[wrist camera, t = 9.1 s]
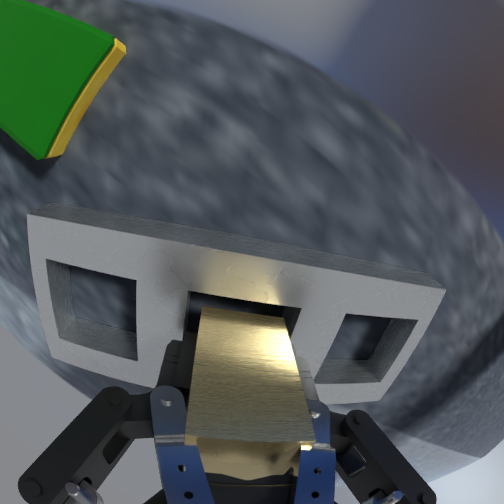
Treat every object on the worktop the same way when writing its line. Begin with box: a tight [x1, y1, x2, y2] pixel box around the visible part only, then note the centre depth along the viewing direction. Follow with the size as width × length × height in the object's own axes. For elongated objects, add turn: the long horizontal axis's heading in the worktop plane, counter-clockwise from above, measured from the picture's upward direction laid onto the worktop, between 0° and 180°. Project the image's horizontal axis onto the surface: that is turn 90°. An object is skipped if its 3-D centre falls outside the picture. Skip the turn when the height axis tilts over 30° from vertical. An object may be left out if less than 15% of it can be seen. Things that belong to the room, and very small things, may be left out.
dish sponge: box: [0, 0, 126, 160], centre depth 8 cm, size 7×14×2 cm, turn 51°
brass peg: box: [185, 306, 316, 480], centre depth 11 cm, size 4×4×7 cm
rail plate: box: [27, 203, 446, 404], centre depth 15 cm, size 24×10×2 cm, turn 77°
